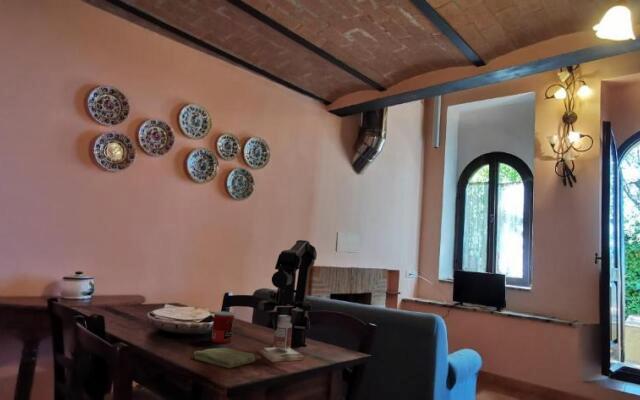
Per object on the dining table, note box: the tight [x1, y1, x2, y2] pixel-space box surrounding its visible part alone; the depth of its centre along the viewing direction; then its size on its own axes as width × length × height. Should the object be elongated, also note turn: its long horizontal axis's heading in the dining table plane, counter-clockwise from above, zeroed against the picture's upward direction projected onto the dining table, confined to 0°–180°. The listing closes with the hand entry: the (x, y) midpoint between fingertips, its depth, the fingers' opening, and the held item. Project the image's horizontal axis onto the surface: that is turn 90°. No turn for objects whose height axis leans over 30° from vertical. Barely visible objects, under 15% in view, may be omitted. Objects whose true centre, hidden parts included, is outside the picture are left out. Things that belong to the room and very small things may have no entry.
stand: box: [258, 346, 305, 363], centre depth 149 cm, size 12×12×2 cm
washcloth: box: [193, 347, 256, 369], centre depth 139 cm, size 13×18×3 cm
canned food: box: [211, 310, 235, 345], centre depth 166 cm, size 8×8×11 cm
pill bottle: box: [272, 314, 292, 350], centre depth 151 cm, size 6×6×11 cm
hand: (283, 330), depth 151 cm, fingers closed on pill bottle, 6 cm apart
